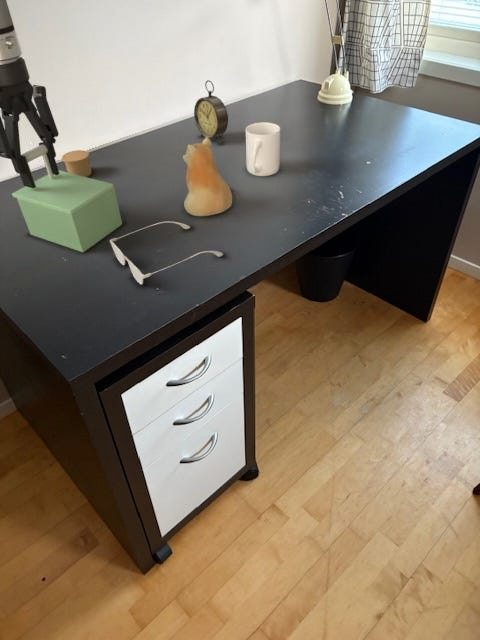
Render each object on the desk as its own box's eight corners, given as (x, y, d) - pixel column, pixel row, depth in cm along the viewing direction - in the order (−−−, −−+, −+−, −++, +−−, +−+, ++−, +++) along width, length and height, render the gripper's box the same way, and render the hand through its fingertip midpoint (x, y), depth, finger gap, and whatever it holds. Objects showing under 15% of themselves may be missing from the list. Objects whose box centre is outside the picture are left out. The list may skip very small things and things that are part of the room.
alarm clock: (195, 137, 143) (189, 78, 132) (209, 132, 146) (204, 74, 135) (218, 146, 137) (214, 86, 126) (232, 141, 139) (229, 82, 129)
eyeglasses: (111, 254, 98) (107, 238, 95) (187, 226, 105) (185, 209, 102) (145, 292, 88) (141, 274, 85) (226, 257, 95) (225, 240, 93)
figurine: (178, 197, 115) (170, 135, 105) (228, 188, 117) (225, 127, 107) (190, 222, 106) (182, 157, 96) (243, 212, 109) (241, 147, 99)
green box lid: (13, 197, 99) (-2, 159, 94) (57, 172, 107) (46, 136, 102) (71, 214, 93) (59, 175, 87) (114, 187, 101) (105, 150, 95)
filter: (62, 179, 125) (57, 160, 121) (73, 167, 130) (68, 149, 126) (87, 180, 124) (82, 161, 120) (97, 168, 129) (92, 150, 125)
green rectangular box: (30, 234, 105) (16, 198, 99) (71, 209, 113) (60, 173, 107) (83, 252, 99) (71, 214, 93) (122, 224, 107) (114, 187, 101)
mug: (237, 180, 120) (236, 138, 113) (252, 161, 129) (251, 120, 122) (270, 184, 118) (270, 142, 111) (283, 164, 126) (284, 123, 119)
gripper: (-30, 75, 78) (19, 203, 94) (55, 48, 90) (86, 165, 106) (-59, 70, 81) (-7, 195, 96) (28, 45, 93) (61, 159, 108)
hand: (42, 179), depth 101 cm, fingers closed on green box lid, 6 cm apart
